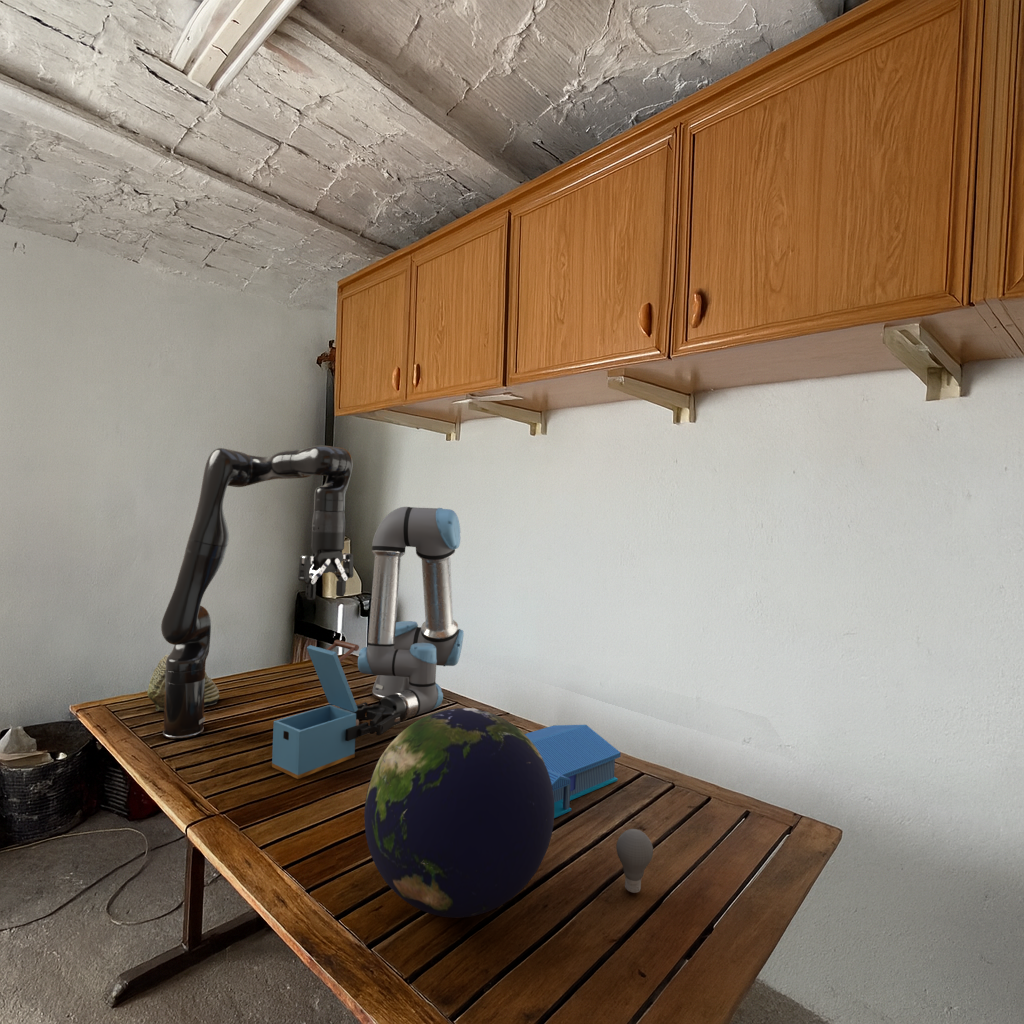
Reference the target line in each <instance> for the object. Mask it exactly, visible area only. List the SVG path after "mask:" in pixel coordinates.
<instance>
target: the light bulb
mask: <svg viewBox="0 0 1024 1024" xmlns="http://www.w3.org/2000/svg"><path fill="white" fill-rule="evenodd" d="M615 849H616V854H617V857H618V859H619V861H620V863H621V865H622V867H623V873H624V874H623V875H624V876H625V878H624V888H625V890H627V891H628V892H630V893H634V894H635V893H639V892H640V891H641V889H642V887H641V886H642V879H643V877H644V875H645V871H646V868H647V867H648V866H649V864H650V863H651V861H652V859H653V855H654V847H653V843H652V841H651V838H649V836H648V835H647V834H646V833H645V832H643V831H642V830H641V829H636V828H629V829H627V830H625V831H623V832H622V833H621V834H620V835H619V837H618V839H617V841H616V847H615Z"/></svg>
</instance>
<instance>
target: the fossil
mask: <svg viewBox="0 0 1024 1024" xmlns="http://www.w3.org/2000/svg"><path fill="white" fill-rule="evenodd" d="M169 655H170V654H165V655H164V656H163V657H162V658H161V659H160V660H159V662H158V663H157V666H156V667H155V669H154V670H153V672H152V675H151V677H150V680H149V684H148V688H147V697H148V699H149V700H150V701H152V703H153V704H154V706H155V711H158V712H159V711H162V712H163V711H164V705H165V674H166V659H167V657H168V656H169ZM220 698H221V696H220V690H219V688H218V686H217V685H216V683H215V682H214V681H213V679H212V678H211V677H209V675H208V674H207V672H206V671H205V693H204V707H207V706H213V705H215V704H217V703H218V701H219V699H220Z"/></svg>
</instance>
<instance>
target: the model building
mask: <svg viewBox="0 0 1024 1024" xmlns="http://www.w3.org/2000/svg"><path fill="white" fill-rule="evenodd" d="M524 734H525V735H526V736H527V737H528V738H529V739H530V741H531V742H532V743H533V744H534V745H535V747H536V748H537V750H538V752H539V753H540V755H541V757H542V758H543V760H544V763H545V766H546V768H547V770H548V773H549V777H550V780H551V784H552V789H553V795H554V819H556V818H558V817H560V816H563V815H565V814H567V813H570V812H572V808H571V807H570V803H571V801H573V800H575V799H577V798H580V797H582V796H585V795H587V794H589V793H592V792H594V791H596V790H599V789H601V788H604V787H606V786H608V785H610V784H614V783H615V782H618V779H619V778H618V777H615V770H616V769H615V768H616V767H615V766H616V759H619V758H621V757H622V756H621V755H622V754H621V751H620V750H618V749H617V748H616V747H615V746H613V745H612V744H611V743H610V742H608V741H607V740H605V739H604V737H602V736H601V735H600V734H598V733H597V732H596V731H595V730H593V728H591V727H590V726H588V725H587V724H560V725H559V724H558V725H556V724H555V725H550V726H546V727H544V728H540V729H537V730H534V731H531V732H530V731H529V732H527V733H524Z"/></svg>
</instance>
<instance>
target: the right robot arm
mask: <svg viewBox="0 0 1024 1024" xmlns="http://www.w3.org/2000/svg"><path fill="white" fill-rule="evenodd" d="M460 524H461V523H460V520H459V517H458V514H457V513H456V511H454V509H449V508H442V507H437V508H436V507H416V506H415V507H414V506H413V507H412V506H401V507H397V508H395V509H393V510H391V511H390V512H389V513H388V514H387V515H386V516H385V517H384V518H383V519H382V520H381V522H380V523H379V525H378V527H377V528H376V531H375V533H374V536H373V539H372V544H371V545H372V546H371V553H372V554H373V556H374V564H373V575H372V576H373V578H372V588H371V600H370V611H369V623H368V624H369V625H368V637H367V646H364V647H362V648H361V649H360V650H359V653H358V657H357V669H358V671H359V672H360V673H361V674H364V675H372V676H376V678H375V681H374V684H373V687H372V691H371V692H372V694H371V695H372V697H373V698H375V699H376V700H379V702H378V703H376V704H372V705H369V704H368V702H367V701H366V702H365V701H364V702H362V703H358V704H356V705H357V708H358V710H357V711H356V712H353V713H356V719H358V720H362V721H366V722H362V723H359V725H357V726H354V727H351V728H348V729H346V739H345V740H346V741H349V740H352V739H355V740H356V739H357V738H360V737H363V736H366V735H368V734H370V735H373V734H375V733H376V735H377V736H380V735H382V734H384V733H385V732H387V731H389V730H390V729H391V728H392V727H394V726H397V725H399V724H401V722H402V721H403V722H404V721H406V720H408V719H411V718H414V717H417V716H419V715H422V714H425V713H429V712H431V711H433V710H436V709H437V708H439V707H440V706H441V704H442V703H443V700H444V692H443V691H442V688H441V686H440V685H439V684H438V683H437V681H436V679H437V678H436V677H437V666H441V667H442V666H443V667H454V666H457V664H458V663H459V660H460V659H461V658H460V657H461V653H462V648H463V642H464V635H465V633H464V630H463V629H461V628H459V624H458V623H457V621H456V620H455V619H454V615H453V614H454V613H453V590H452V565H451V562H452V561H451V557H452V556H453V555H454V554H455V553H456V550H457V549H458V548H459V547H460V544H461V525H460ZM406 547H408V548H415V553H416V554H415V555H416V556H417V557H418V558H419V559H421V571H422V588H423V600H424V601H423V605H424V620H425V621H424V622H423V623H422V624H421V626H419V624H418V622H417V621H413V620H404V621H403V620H402V621H397V617H398V615H397V614H398V603H399V593H400V592H399V590H400V579H401V564H402V558H403V557H404V556H405V554H406ZM339 708H341V707H339ZM341 709H343V708H341ZM344 710H346V709H344ZM347 711H349V710H347ZM350 712H352V711H350ZM368 721H369V722H368Z"/></svg>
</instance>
